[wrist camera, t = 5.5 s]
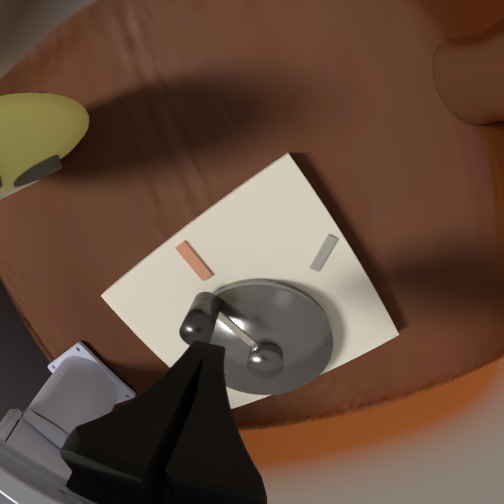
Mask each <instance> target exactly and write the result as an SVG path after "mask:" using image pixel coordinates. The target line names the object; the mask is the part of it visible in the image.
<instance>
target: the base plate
mask: <svg viewBox="0 0 504 504" xmlns="http://www.w3.org/2000/svg"><path fill="white" fill-rule="evenodd" d="M249 279H268V280H276V281H280V282H284V283H287V284H290V285H292V286H295V287H297V288H299V289H301V290H303V291H304V292H306V293H307V294H309V295H310V296H312V297H313V298H314V299H315V300H316V301H317V302H318V303H319V304H320V305H321V307H322V308H323V309H324V311H325V313H326V314H327V316H328V319H329V321H330V325H331V330H332V335H333V351H332V355H331V358H330V361H329V363H328V364H327V366H326V368H325V369H324V370H323V372H322V373H321V374H323V373H325V372H327V371H329V370H332V369H334V368H336V367H338V366H340V365H342V364H344V363H346V362H348V361H350V360H352V359H354V358H356V357H358V356H360V355H362V354H364V353H366V352H368V351H370V350H372V349H374V348H376V347H378V346H379V345H381V344H383V343H385V342H387V341H389V340H390V339H392V338H394V337H396V336H397V335H399V333H398V331H397V329H396V327H395V325H394V323H393V321H392V319H391V317H390V315H389V313H388V312H387V310H386V308H385V306H384V304H383V302H382V301H381V299H380V297H379V295H378V293H377V291H376V290H375V288H374V286H373V284H372V283H371V281H370V279H369V277H368V276H367V274H366V272H365V270H364V269H363V267H362V265H361V264H360V262H359V260H358V259H357V257H356V255H355V253H354V252H353V250H352V249H351V247H350V245H349V244H348V242H347V240H346V239H345V237H344V235H343V234H342V232H341V231H340V229H339V227H338V226H337V224H336V223H335V221H334V220H333V218H332V216H331V215H330V213H329V212H328V210H327V209H326V207H325V206H324V204H323V203H322V201H321V199H320V198H319V196H318V195H317V193H316V192H315V190H314V189H313V188H312V186H311V185H310V183H309V182H308V180H307V179H306V177H305V176H304V174H303V173H302V171H301V170H300V169H299V167H298V166H297V164H296V163H295V161H294V160H293V159H292V157H291V156H290V154H289V153H287V154H285V155H284V156H282V157H281V158H279V159H278V160H276V161H275V162H273V163H272V164H270V165H269V166H267V167H266V168H265V169H263V170H262V171H260V172H259V173H257V174H256V175H254V176H253V177H252V178H250V179H249V180H247V181H246V182H245V183H243V184H242V185H240V186H239V187H238V188H236V189H235V190H233V191H232V192H231V193H229V194H228V195H226V196H225V197H224V198H222V199H221V200H220V201H218V202H217V203H216V204H214V205H213V206H211V207H210V208H209V209H207V210H206V211H205V212H203V213H202V214H201V215H199V216H198V217H197V218H195V219H194V220H193V221H191V222H190V223H189V224H188V225H186V226H185V227H184V228H182V229H181V230H180V231H178V232H177V233H176V234H175V235H173V236H172V237H171V238H169V239H168V240H167V241H166V242H164V243H163V244H162V245H161V246H159V247H158V248H157V249H155V250H154V251H153V252H152V253H150V254H149V255H148V256H147V257H145V258H144V259H143V260H142V261H141V262H139V263H138V264H137V265H136V266H134V267H133V268H132V269H131V270H130V271H128V272H127V273H126V274H125V275H123V276H122V277H121V278H120V279H119V280H117V281H116V282H115V283H114V284H113V285H112V286H110V287H109V288H108V289H107V290H106V291H105V292H104V293H103V294H102V295H101V297H102V298H103V299H104V300H105V301H106V302H107V303H108V305H109V306H110V307H111V308H112V309H113V310H114V311H115V312H116V313H117V315H118V316H119V317H120V318H121V319H122V320H123V321H124V322H125V323H126V324H127V325H128V326H129V327H130V329H131V330H132V331H133V332H134V333H135V334H136V335H137V336H138V337H139V338H140V339H141V340H142V341H143V342H144V343H145V344H146V345H147V346H148V347H149V348H150V349H151V350H152V351H153V352H154V353H155V354H156V355H157V356H158V357H159V358H160V359H162V360H163V361H164V362H165V363H166V364H167V365H168V366H169V367H171V366H172V365H173V364H174V363H175V362H176V361H177V360H178V359H179V358H180V357H181V356H182V354H183V353H184V352H185V351H186V350H187V348H188V347H189V346H190V345H188V344H186V343H185V342H184V341H183V340H182V339H181V337H180V334H179V330H180V327H181V325H182V323H183V321H184V319H185V317H186V315H187V312H188V310H189V308H190V306H191V304H192V302H193V300H194V298H195V296H196V295H197V294H198V293H201V292H211V293H213V292H214V291H216V290H217V289H219V288H221V287H223V286H225V285H228V284H230V283H233V282H237V281H242V280H249ZM321 374H320V375H321ZM226 389H227V394H228V399H229V403H230V407H231V409H233V408H236V407H239V406H242V405H245V404H248V403H251V402H254V401H256V400H259V399H262V398H265V397H267V396H270V395H255V394H248V393H243V392H239V391H236V390H233V389H231V388H228V387H226Z"/></svg>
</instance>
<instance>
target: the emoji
mask: <svg viewBox="0 0 504 504" xmlns="http://www.w3.org/2000/svg"><path fill="white" fill-rule="evenodd" d="M88 125H89V115H88V113H87V111H86V109H85V108H84V107H83V106H82V105H81V104H79V103H78V102H77V101H75V100H72V99H70V98H67V97H64V96H60V95H56V94H49V93H46V92H32V93H21V94H9V95H3V96H0V199H2V198H4V197H7V196H9V195H11V194H13V193H15V192H17V191H19V190H21V189H23V188H25V187H27V186H29V185H31V184H33V183H35V182H37V181H38V180H39V179H41V178H44V177H46V176H49V175H51V174H53V173H55V172H57V171H59V170H60V169H61V168H62V167H61V162H60V159H62V158H63V157H64V156H66V155H67V154H68V153H69V152H70V151H71V150H73V148H74V147H75V146H76V145H77V144H78V142H79V141H80V140H81V139H82V138H83V136H84V135H85V134H86V132H87V130H88Z"/></svg>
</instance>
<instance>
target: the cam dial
mask: <svg viewBox="0 0 504 504" xmlns="http://www.w3.org/2000/svg"><path fill="white" fill-rule="evenodd" d="M179 334H180V337H181V339H182V340H183V341H184V342H185V343H186V344H188V345H190V344H191V343H192V342H193V341H200V342H205V343H210V344H214V345H219V346H224V348H225V349H226V350H225V358H224V374H225V382H226V387H228V388H231V389H233V390H236V391H239V392H243V393H248V394H255V395H275V394H282V393H286V392H290V391H293V390H296V389H299V388H301V387H303V386H305V385H307V384H308V383H310V382H312V381H313V380H314V379H315V378H317V377H318V376H319V375H320V374H321V373H322V372H323V370H324V369H325V368H326V366H327V364H328V363H329V361H330V358H331V355H332V351H333V335H332V330H331V325H330V321H329V319H328V316H327V314H326V313H325V311H324V309H323V308H322V307H321V305H320V304H319V303H318V302H317V301H316V300H315V299H314V298H313V297H312V296H310V295H309V294H307V293H306V292H304V291H303V290H301V289H299V288H297V287H295V286H292V285H290V284H287V283H284V282H280V281H276V280H268V279H249V280H242V281H237V282H233V283H230V284H228V285H225V286H223V287H221V288H219V289H217V290H216V291H214V292H213V293H211V292H201V293H198V294H197V295H196V296H195V298H194V300H193V302H192V304H191V306H190V308H189V310H188V312H187V315H186V317H185V319H184V321H183V323H182V325H181V327H180V330H179Z"/></svg>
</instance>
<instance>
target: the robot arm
mask: <svg viewBox="0 0 504 504" xmlns="http://www.w3.org/2000/svg"><path fill="white" fill-rule="evenodd" d="M225 350H226V349H225V348H224V346H219V345H214V344H210V343H205V342H200V341H193V342H192V343H191V344H190V346H189V347H188V348H187V350H186V351H185V352H184V353H183V354H182V356H181V357H180V358H179V359H178V360H177V361H176V362H175V363H174V364H173V365H172V366H171V367H170V368H169V370H168V371H167V372H165V373H164V374H163V375H162V376H161V377H160V378H159V379H158V380H157V381H156V382H154V383H153V384H152V385H151V386H150V387H148V388H147V389H146V390H145V391H143V392H142V393H141V394H139V395H138V396H136V397H135V395H136V394H135V392H134V391H133V390H132V389H130V388H129V387H128V386H127V385H126V384H125V383H124V382H123V381H122V380H120V379H119V378H118V377H117V376H116V375H115V374H114V373H113V372H112V371H111V370H110V369H109V368H108V367H106V366H105V365H104V364H103V363H102V362H101V361H100V360H99V359H98V358H97V357H96V356H95V355H94V354H93V353H92V352H91V351H90V350H89V349H88V348H87V347H86V346H85V344H83V343H82V342H78V343H76V344H75V345H74V346H72V347H71V348H70V349H68V350H67V351H66V352H64V353H63V354H62V355H61V356H59V357H58V358H57V359H55V360H54V361H53V362H51V363H50V364H49V365H48V368H49V370H50V371H51V372H52V373H53V374H52V375H51V377H50V378H49V379H48V381H47V382H46V383H45V385H44V386H43V387H42V389H41V390H40V391H39V393H38V394H37V396H36V397H35V398H34V400H33V401H32V403H31V404H30V406H29V407H28V409H27V410H26V411H25V412H24V413H23V414H22V413H21V411H20V410H19V409H16V410H15V409H10V410H9V412H8V413H7V414H6V416H5V417H4V419H3V420H2V422H1V423H0V504H267V496H266V491H265V487H264V484H263V481H262V477H261V475H260V473H259V472H258V470H257V468H256V467H255V465H254V463H253V461H252V460H251V458H250V456H249V454H248V452H247V450H246V448H245V446H244V443H243V441H242V439H241V436H240V434H239V432H238V429H237V426H236V424H235V421H234V417H233V414H232V411H231V407H230V403H229V399H228V394H227V389H226V382H225V374H224V358H225ZM134 397H135V398H134ZM132 398H133V399H132ZM129 399H132V400H130V401H129V402H127V403H126V404H124V405H122V406H121V407H119V408H117V409H115V410H113V411H112V409H113V407H114V405H115V404H118V403H121V402H123V401H126V400H129Z"/></svg>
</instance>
